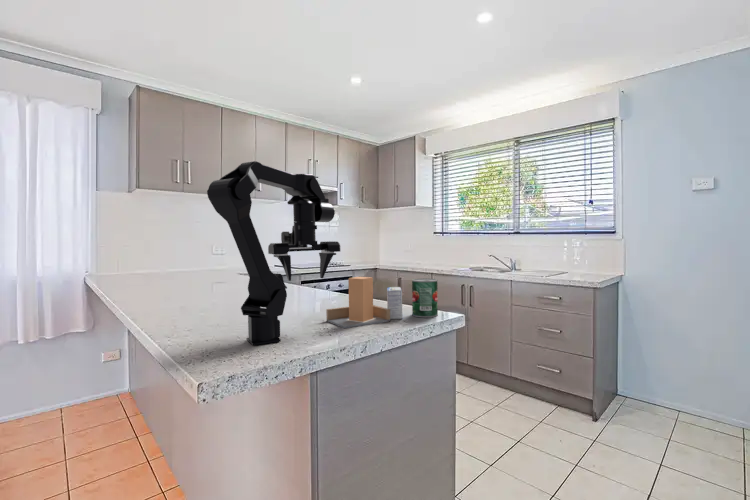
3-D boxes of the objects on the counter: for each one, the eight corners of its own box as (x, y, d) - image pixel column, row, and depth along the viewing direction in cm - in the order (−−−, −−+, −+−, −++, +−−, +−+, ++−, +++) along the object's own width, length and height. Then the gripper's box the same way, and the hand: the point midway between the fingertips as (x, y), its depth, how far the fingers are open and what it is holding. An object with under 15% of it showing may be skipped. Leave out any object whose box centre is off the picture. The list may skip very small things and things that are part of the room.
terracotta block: (363, 321, 112) (362, 279, 112) (349, 319, 115) (348, 278, 115) (373, 318, 117) (372, 277, 116) (359, 316, 119) (358, 276, 119)
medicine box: (402, 319, 119) (402, 290, 118) (387, 319, 119) (387, 290, 118) (401, 314, 127) (401, 286, 126) (387, 314, 127) (386, 286, 126)
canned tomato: (407, 314, 127) (407, 279, 126) (429, 311, 130) (429, 277, 129) (420, 318, 119) (419, 281, 119) (442, 316, 122) (442, 280, 122)
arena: (343, 328, 108) (343, 315, 108) (326, 321, 117) (326, 309, 117) (390, 321, 116) (390, 309, 116) (370, 315, 125) (370, 304, 125)
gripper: (324, 222, 120) (325, 274, 121) (261, 222, 111) (263, 279, 111) (340, 221, 110) (341, 277, 111) (273, 221, 101) (275, 283, 102)
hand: (305, 279), depth 109 cm, fingers open, 9 cm apart
